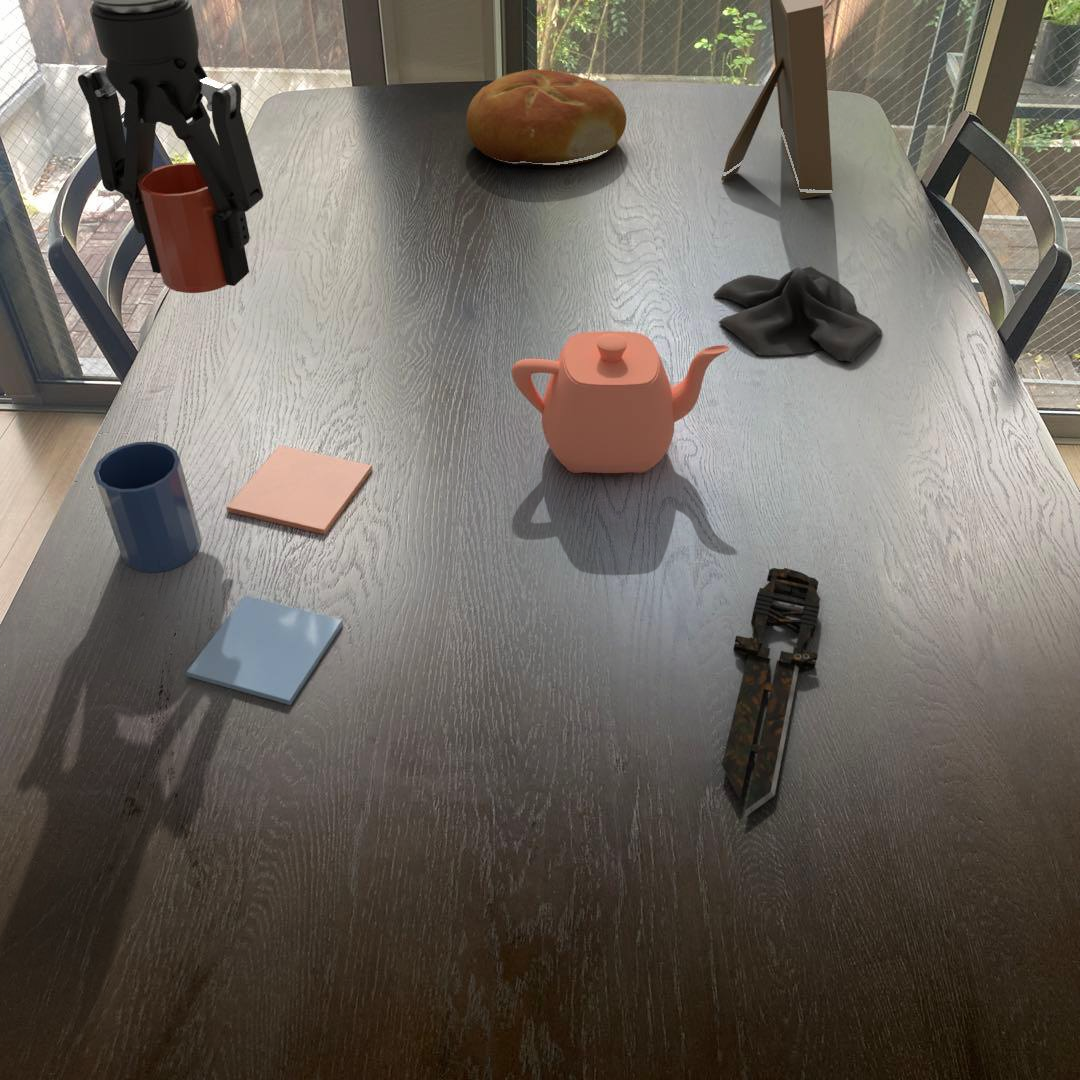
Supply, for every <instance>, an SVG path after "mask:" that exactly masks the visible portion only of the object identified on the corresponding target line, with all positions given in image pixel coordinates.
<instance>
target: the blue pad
mask: <svg viewBox="0 0 1080 1080" xmlns="http://www.w3.org/2000/svg"><path fill="white" fill-rule="evenodd" d="M343 625H344V622H343V619H341V618H337V617H333V616H328V615H325V614H321V613H317V612H313V611H309V610H306V609H301V608H297V607H294V606H289V605H285V604H282V603H278V602H274V601H270V600H266V599H262V598H258V597H255V596H250V595H246V594H245V595H244V596H243V597H242V599H241V600H240V601H239V602H238V604H237V605H236V606H235V608H234V609H233V610H232V612H231V613H230V614H229V615H228V616H227V618H226V620H225V621H224V622H223V623H222V625H221V626H220V627H219V628H218V629H217V631H216V632H215V634H214V635H213V636H212V638H211V639H210V641H209V642H208V643H207V644H206V645H205V647H204V648H203V649H202V651H201V652H200V653H199V655H198V656H197V657H196V659H195V660H194V661H193V663H192V664H191V665H190V666H189V668H188V669H187V670H186V675H187V677H188V678H192V679H195V680H199V681H202V682H205V683H209V684H214V685H217V686H220V687H223V688H227V689H231V690H235V691H238V692H241V693H245V694H249V695H252V696H255V697H259V698H262V699H267V700H270V701H273V702H277V703H281V704H285V705H287V706H291V705H292V704H293V702H294V701H295V699H296V697H297V696H298V694H299V693H300V691H301V690H302V689H303V687H304V686H305V684H306V682H307V681H308V679H309V678H310V676H311V675H312V673H313V672H314V670H315V668H316V667H317V666H318V664H319V662H320V661H321V659H323V655H325V653H326V652H327V650H328V648H329V647H330V646H331V644H332V642H333V641H334V640H335V638H336V636H337V635H338V633H339V632H340V630H341V628H342V627H343Z"/></svg>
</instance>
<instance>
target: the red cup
mask: <svg viewBox="0 0 1080 1080" xmlns="http://www.w3.org/2000/svg"><path fill="white" fill-rule="evenodd" d="M138 187H139V191H140V195H141V199H142V203H143V207H144V211H145V215H146V219H147V223H148V227H149V231H150V235H151V238H152V242H153V246H154V250H155V254H156V258H157V262H158V266H159V270H160V273H159V274H160V276H161V278H162V279H161V280H162V282H163V284H164V285H165V286H166V287H167V288H168V289H170V290H171V291H175V292H179V293H184V294H201V293H209V292H213V291H216V290H217V291H218V290H219V289H222V288H225V287H227V286H228V285H227V283H226V278H225V274H224V269H223V264H222V259H221V255H220V250H219V245H218V241H217V236H216V231H215V226H214V222H213V217H212V216H213V215H214V214H215V213H216V212H217V211H219V208H218V206H217V204H216V203H215V201H214V199H213V197H212V195H211V193H210V191H209V189H208V187H207V185H206V183H205V181H204V179H203V177H202V176H201V174H200V172H199V170H198V168H197V166H196V164H195V162H178V163H177V162H176V163H171V164H166V165H161V166H159V167H156V168H154V169H153V168H152V170H150V171H149V172H147V173H146V174H144V175H143V176H141V177H140V180H139V182H138Z"/></svg>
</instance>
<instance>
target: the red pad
mask: <svg viewBox="0 0 1080 1080" xmlns="http://www.w3.org/2000/svg"><path fill="white" fill-rule="evenodd" d="M373 471H374V469H373V465H372V464H369V463H368V464H367V463H363V462H359V461H354V460H349V459H345V458H340V457H335V456H332V455H331V456H330V455H327V454H322V453H317V452H314V451H313V452H312V451H308V450H304V449H299V448H294V447H291V446H286V445H280V444H279V445H278V446H277V448H275V450H274V451H272V453H271V454H270V456H269V457H268V458H267V459H266V460H265V461H264V463H262V465H261V466H260V467H259V468H258V469H257V471H256V472H255V473H254V474H253V475H252V476H251V478H250V479H248V481H247V482H246V483H245V485H244V486H243V487H242V488H241V489H240V490H239V491H238V492H237V494H236V495H235V496H234V498H232V500H230V502H229V503H228V504H227V505H226V512H227V513H231V514H235V515H239V516H243V517H248V518H252V519H257V520H260V521H265V522H269V523H273V524H278V525H282V526H287V527H291V528H294V529H298V530H304V531H307V532H311V533H316V534H320V535H324V536H325V535H326V534H327V533H328V532H329V530H330V529H331V528H332V527H333V525H334V523H336V521H337V520H338V518H339V517H340V515H341V514H342V513H343V512H344V510H345V508H346V507H347V506H348V504H349V503H350V502H351V500H352V499H353V498H354V496H355V495H356V494H357V492H358V491H359V489H360V488H361V487H362V485H363V484H364V483H365V481H366V480H367V478H368V477H369V476H370V474H371V473H372V472H373Z"/></svg>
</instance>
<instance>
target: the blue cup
mask: <svg viewBox="0 0 1080 1080" xmlns="http://www.w3.org/2000/svg"><path fill="white" fill-rule="evenodd" d="M93 476H94V480H95V483H96V485H97V488H98V493H99V494H100V497H101V500H102V503H103V506H104V509H105V512H106V515H107V517H108V521H109V524H110V526H111V529H112V532H113V535H114V538H115V540H116V544H117V547H118V549H119V553H120V555H121V558H122V560H123V562H124V563H125V564H126V565H127V566H128V567H129V568H131V569H133V570H135V571H139V572H143V573H160V572H161V573H162V572H167V571H170V570H174V569H176V568H178V567H180V566H182V565H184V564H186V563H187V562H189V561H190V560H191V559H192V558H193V557H194V556H196V554H197V553H198V551H199V549H200V547H201V544H202V536H201V531H200V527H199V524H198V520H197V516H196V513H195V509H194V506H193V502H192V498H191V494H190V491H189V487H188V484H187V483H188V482H187V480H186V476H185V473H184V469H183V465H182V462H181V458H180V456H179V454H178V451H177V450H176V449H175V448H173V447H172V446H170V445H169V444H166V443H163V442H158V441H153V440H151V441H135V442H132V443H129V444H123V445H120V446H119V447H117V448H114V449H113V450H111V451H109V452H107V453H106V454H105V455H104V456H103V457H102V458H100V459H99V460H98V462H96V465H95V468H94V470H93Z"/></svg>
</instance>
